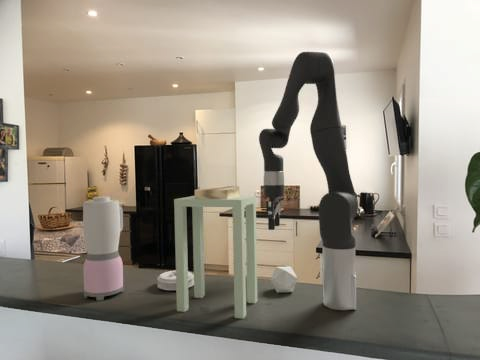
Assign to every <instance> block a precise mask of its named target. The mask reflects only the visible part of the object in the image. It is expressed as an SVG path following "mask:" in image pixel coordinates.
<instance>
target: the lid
mask: <svg viewBox="0 0 480 360" xmlns="http://www.w3.org/2000/svg"><path fill="white" fill-rule="evenodd" d="M156 280H157V288H158V289H160V290H164V291H176V270H169V271H165V272H162V273H160V275H158V276H157V278H156ZM192 287H194V273H192V272H191V271H189V270H188V289H189V288H192Z"/></svg>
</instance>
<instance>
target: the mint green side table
mask: <svg viewBox="0 0 480 360" xmlns="http://www.w3.org/2000/svg"><path fill="white" fill-rule="evenodd" d="M256 197H257V196H256V195H239V196H237V197H233V198H229V199H195V195H191V196H187V197H186V196H185V197H181V198H180V197H179V198H174V199H173V204H174V205H173V206H174V207H173V208H174V245H175V248H174V249H175V271H176V290H175V291H176V312H183V313H186V311H188V310H189V308H190V306H189V305H190V304H189V303H190V302H189V288H188V271H189V266H188V261H189V260H188V224H187V223H188V221H187V217H188V216H187V207H190V208H191V210H192V211H191V213H192V247H193V248H192V252H193V255H192V257H193V258H192V259H193V274H194V285H193V293H194V296H193V298H198V299H202V298H204V297H205V295H206V294H205V292H206V289H205V287H206V286H205V247H204V244H205V243H204V241H205V239H204V238H205V237H204V208H232V249H233V250H232V252H233V257H232V258H233V295H234V296H233V298H234V299H233V302H234V304H233V305H234V318H235V319H245V317H246V316H247V304H256V303H257V302H258V258H257V257H258V256H257V251H258V250H257V205H256V203H257V198H256Z"/></svg>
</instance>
